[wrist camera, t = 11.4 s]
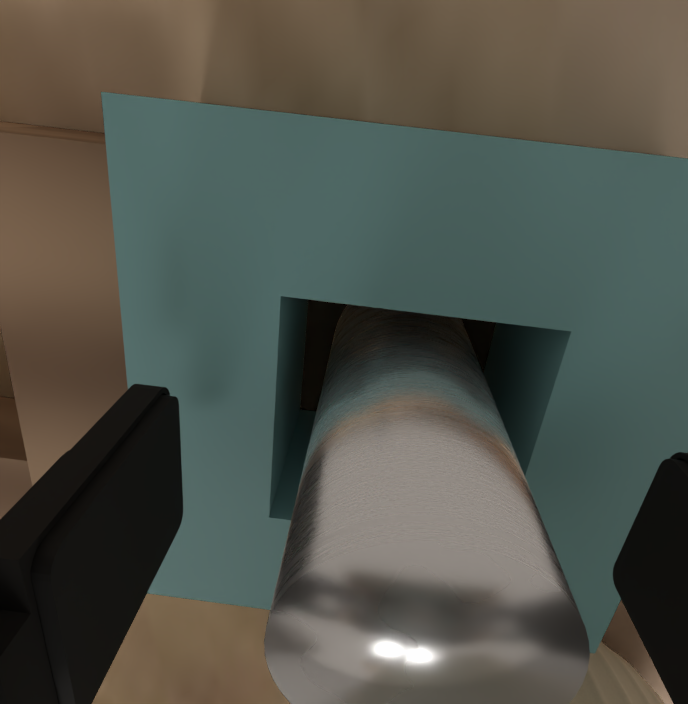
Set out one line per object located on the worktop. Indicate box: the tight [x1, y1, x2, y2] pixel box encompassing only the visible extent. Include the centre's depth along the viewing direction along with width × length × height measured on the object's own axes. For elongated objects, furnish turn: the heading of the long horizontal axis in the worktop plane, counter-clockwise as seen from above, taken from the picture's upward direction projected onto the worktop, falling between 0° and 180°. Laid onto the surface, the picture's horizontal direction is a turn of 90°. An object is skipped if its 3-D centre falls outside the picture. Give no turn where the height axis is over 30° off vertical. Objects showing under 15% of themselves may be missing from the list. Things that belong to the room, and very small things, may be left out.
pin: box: [264, 304, 590, 704], centre depth 11 cm, size 4×4×10 cm
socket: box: [101, 92, 688, 654], centre depth 13 cm, size 12×12×5 cm
